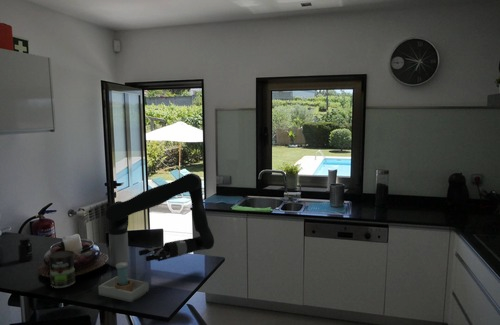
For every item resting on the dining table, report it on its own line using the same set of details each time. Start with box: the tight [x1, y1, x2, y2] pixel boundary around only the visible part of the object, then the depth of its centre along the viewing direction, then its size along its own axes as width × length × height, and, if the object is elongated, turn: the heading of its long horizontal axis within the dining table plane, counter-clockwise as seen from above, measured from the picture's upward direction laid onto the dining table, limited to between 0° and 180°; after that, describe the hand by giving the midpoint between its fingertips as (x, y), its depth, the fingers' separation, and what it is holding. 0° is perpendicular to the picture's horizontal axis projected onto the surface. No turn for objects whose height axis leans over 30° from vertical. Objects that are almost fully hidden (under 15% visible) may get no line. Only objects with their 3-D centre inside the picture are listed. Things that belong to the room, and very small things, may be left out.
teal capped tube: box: [115, 262, 129, 286], centre depth 157 cm, size 5×5×12 cm
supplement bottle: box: [17, 237, 34, 263], centre depth 195 cm, size 7×7×12 cm
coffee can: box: [48, 250, 76, 289], centre depth 167 cm, size 10×10×14 cm
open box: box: [98, 275, 150, 303], centre depth 158 cm, size 18×11×4 cm, turn 68°
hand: (142, 256), depth 163 cm, fingers open, 8 cm apart
